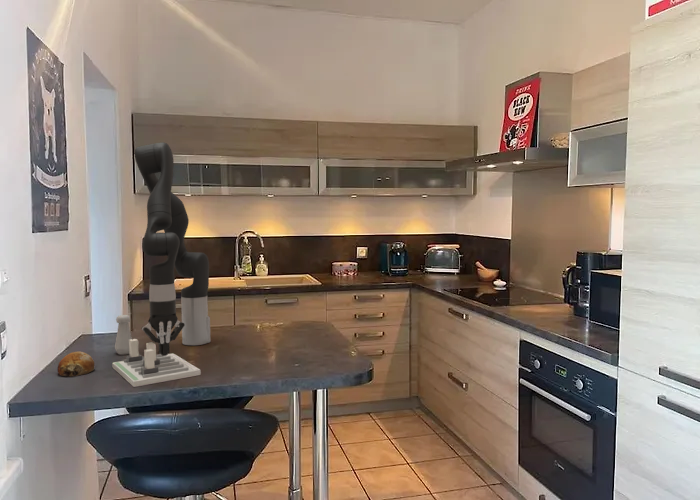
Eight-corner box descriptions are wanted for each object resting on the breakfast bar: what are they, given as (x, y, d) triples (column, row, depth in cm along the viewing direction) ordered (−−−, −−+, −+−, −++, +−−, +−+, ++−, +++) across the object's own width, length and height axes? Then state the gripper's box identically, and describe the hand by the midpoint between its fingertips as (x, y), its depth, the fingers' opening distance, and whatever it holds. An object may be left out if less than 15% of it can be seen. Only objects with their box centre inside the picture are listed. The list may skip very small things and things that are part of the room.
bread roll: (98, 382, 170) (105, 356, 173) (73, 376, 161) (81, 349, 164) (72, 379, 173) (80, 353, 176) (46, 373, 164) (55, 346, 167)
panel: (173, 357, 184) (173, 350, 184) (200, 374, 165) (200, 367, 165) (112, 367, 173) (112, 360, 173) (133, 386, 154) (133, 378, 153)
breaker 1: (139, 360, 175) (138, 338, 175) (142, 362, 173) (141, 339, 172) (126, 362, 173) (125, 339, 172) (128, 364, 170) (128, 341, 170)
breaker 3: (155, 371, 162) (154, 348, 162) (158, 374, 160) (157, 350, 159) (141, 374, 160) (140, 350, 159) (144, 376, 158) (143, 352, 157)
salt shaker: (126, 355, 187) (125, 317, 186) (111, 355, 188) (110, 316, 187) (136, 351, 193) (135, 314, 192) (121, 350, 194) (120, 313, 193)
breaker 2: (156, 364, 170) (156, 341, 170) (159, 366, 168) (159, 343, 168) (143, 366, 168) (142, 343, 168) (146, 368, 166) (145, 345, 165)
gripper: (179, 295, 176) (181, 349, 177) (136, 299, 168) (138, 355, 169) (188, 298, 170) (189, 354, 171) (144, 302, 162) (145, 361, 163)
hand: (164, 354), depth 170 cm, fingers closed
